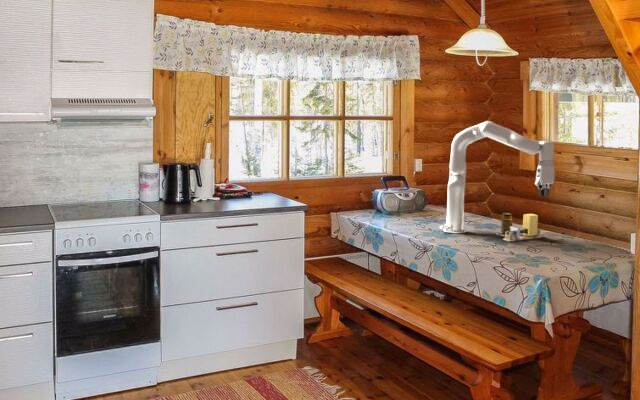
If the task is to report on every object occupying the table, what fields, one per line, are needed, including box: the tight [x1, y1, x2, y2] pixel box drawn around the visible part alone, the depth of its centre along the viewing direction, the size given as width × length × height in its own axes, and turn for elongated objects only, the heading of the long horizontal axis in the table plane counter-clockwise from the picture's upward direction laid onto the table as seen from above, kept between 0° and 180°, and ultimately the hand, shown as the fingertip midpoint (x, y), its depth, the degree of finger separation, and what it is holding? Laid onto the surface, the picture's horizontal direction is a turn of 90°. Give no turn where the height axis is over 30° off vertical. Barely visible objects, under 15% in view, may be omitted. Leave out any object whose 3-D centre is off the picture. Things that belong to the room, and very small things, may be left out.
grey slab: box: [510, 225, 521, 239], centre depth 382 cm, size 2×5×6 cm, turn 28°
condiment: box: [494, 212, 513, 237], centre depth 396 cm, size 7×8×12 cm
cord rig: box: [502, 227, 543, 242], centre depth 385 cm, size 24×5×5 cm, turn 118°
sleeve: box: [521, 213, 539, 236], centre depth 387 cm, size 6×5×11 cm
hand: (543, 195), depth 389 cm, fingers open, 2 cm apart
